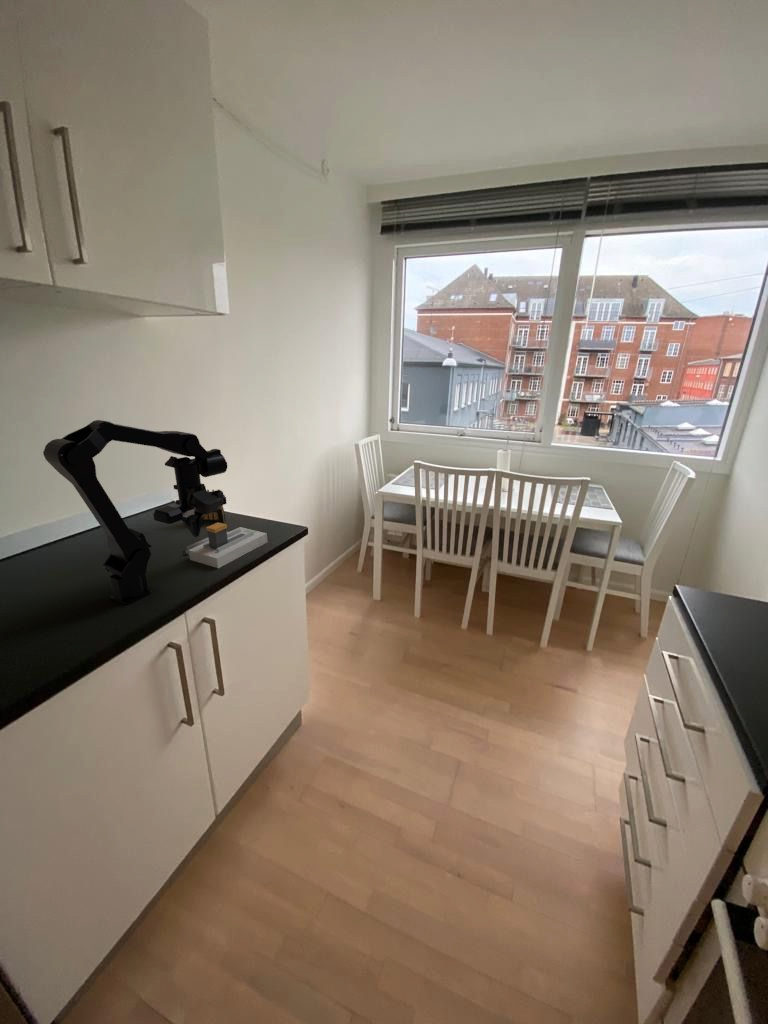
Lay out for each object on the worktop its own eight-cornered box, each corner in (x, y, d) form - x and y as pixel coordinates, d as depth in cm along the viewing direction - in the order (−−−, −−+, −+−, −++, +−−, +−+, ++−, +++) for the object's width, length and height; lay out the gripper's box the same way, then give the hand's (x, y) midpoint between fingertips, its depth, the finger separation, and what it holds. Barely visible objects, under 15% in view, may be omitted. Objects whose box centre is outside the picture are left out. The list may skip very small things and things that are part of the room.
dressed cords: (189, 555, 122) (188, 550, 122) (181, 552, 124) (180, 548, 123) (231, 535, 136) (231, 531, 136) (224, 533, 138) (224, 529, 137)
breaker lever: (217, 549, 119) (214, 529, 117) (208, 546, 120) (206, 527, 118) (229, 543, 122) (226, 524, 120) (220, 541, 124) (218, 522, 122)
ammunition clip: (193, 522, 147) (188, 489, 143) (196, 520, 148) (191, 488, 144) (223, 523, 146) (219, 490, 142) (225, 521, 148) (222, 488, 144)
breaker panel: (218, 568, 115) (216, 555, 114) (190, 559, 120) (188, 547, 118) (267, 542, 132) (266, 530, 131) (241, 535, 136) (239, 524, 135)
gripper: (179, 495, 97) (188, 556, 102) (238, 477, 113) (243, 530, 118) (147, 488, 101) (157, 546, 107) (208, 471, 117) (215, 523, 122)
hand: (196, 536), depth 113 cm, fingers closed
